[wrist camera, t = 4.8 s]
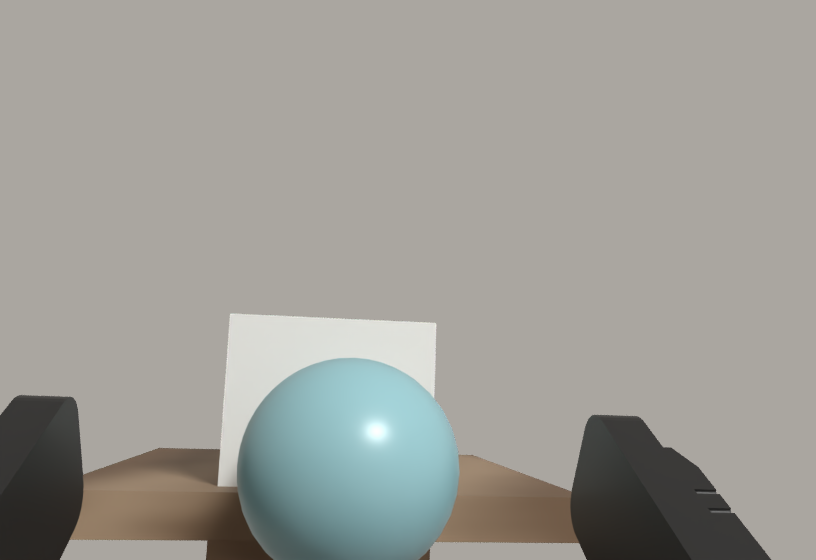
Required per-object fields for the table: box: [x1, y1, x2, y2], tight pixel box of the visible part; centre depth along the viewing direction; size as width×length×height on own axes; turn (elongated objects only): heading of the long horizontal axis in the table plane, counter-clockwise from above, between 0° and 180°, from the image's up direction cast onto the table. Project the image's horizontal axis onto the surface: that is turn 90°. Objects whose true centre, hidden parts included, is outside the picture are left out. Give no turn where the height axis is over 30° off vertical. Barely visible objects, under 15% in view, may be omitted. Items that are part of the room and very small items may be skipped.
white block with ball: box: [218, 314, 460, 560], centre depth 19 cm, size 5×23×4 cm, turn 8°
